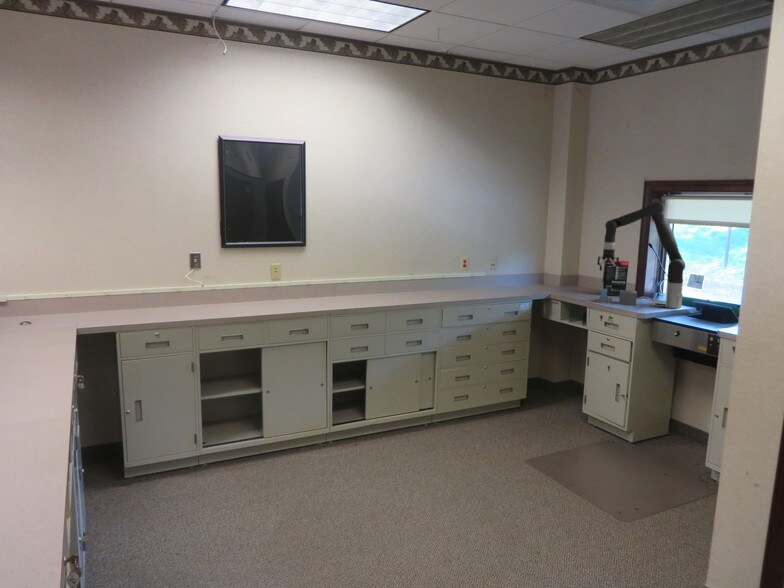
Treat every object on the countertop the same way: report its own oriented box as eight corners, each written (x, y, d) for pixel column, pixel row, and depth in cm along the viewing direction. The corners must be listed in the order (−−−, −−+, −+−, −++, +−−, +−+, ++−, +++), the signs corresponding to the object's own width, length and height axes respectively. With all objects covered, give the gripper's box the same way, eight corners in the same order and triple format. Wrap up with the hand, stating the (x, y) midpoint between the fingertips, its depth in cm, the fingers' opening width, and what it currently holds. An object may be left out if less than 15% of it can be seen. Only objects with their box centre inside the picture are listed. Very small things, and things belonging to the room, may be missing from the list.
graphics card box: (623, 295, 444) (626, 260, 440) (626, 296, 437) (629, 261, 433) (600, 294, 446) (603, 259, 441) (603, 295, 439) (606, 260, 435)
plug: (606, 301, 413) (607, 289, 412) (606, 302, 409) (607, 289, 408) (600, 300, 414) (601, 288, 413) (600, 301, 411) (601, 289, 409)
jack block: (635, 303, 409) (636, 291, 408) (635, 305, 399) (636, 293, 397) (595, 299, 419) (596, 288, 417) (595, 302, 409) (596, 290, 407)
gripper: (619, 248, 406) (618, 271, 409) (598, 247, 412) (597, 270, 414) (619, 249, 400) (617, 272, 402) (598, 248, 405) (596, 271, 407)
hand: (607, 271), depth 408 cm, fingers open, 8 cm apart
